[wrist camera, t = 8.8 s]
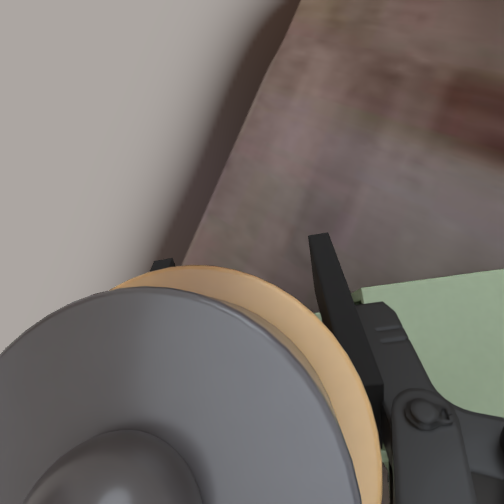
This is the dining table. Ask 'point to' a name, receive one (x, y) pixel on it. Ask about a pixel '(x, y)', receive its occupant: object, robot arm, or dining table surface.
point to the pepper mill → (185, 400)
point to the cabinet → (454, 333)
